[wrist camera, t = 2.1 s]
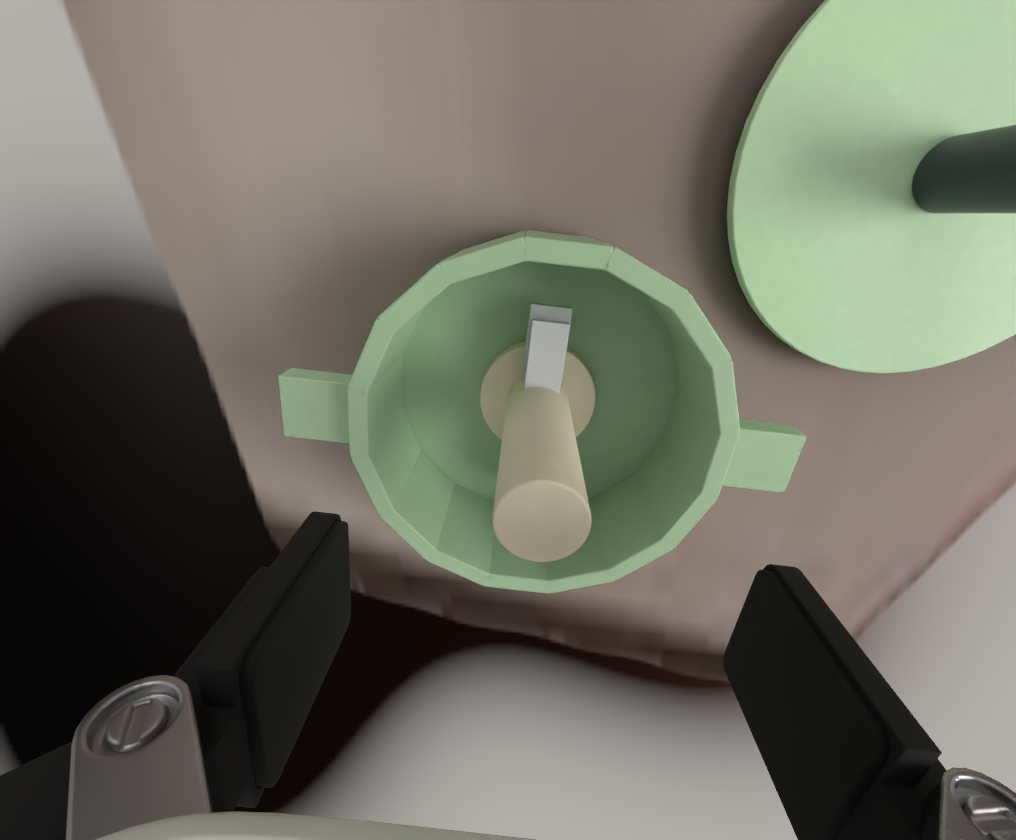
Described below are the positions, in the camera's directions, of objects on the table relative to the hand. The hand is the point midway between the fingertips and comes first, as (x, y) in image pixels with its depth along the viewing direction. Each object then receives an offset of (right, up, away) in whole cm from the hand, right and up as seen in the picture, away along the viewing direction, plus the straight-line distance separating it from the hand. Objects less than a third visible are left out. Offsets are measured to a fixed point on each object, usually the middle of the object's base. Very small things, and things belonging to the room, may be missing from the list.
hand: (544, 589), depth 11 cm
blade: (0, +5, +10) cm, 11 cm away
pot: (+1, +5, +11) cm, 12 cm away
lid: (+14, +13, +6) cm, 20 cm away
